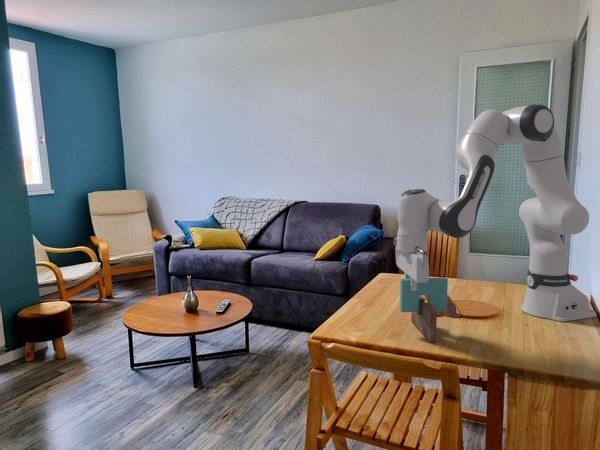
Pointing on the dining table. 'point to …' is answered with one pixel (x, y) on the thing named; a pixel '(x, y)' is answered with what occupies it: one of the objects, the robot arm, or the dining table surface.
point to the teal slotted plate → (432, 288)
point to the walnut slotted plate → (425, 320)
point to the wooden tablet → (450, 309)
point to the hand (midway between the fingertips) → (411, 288)
